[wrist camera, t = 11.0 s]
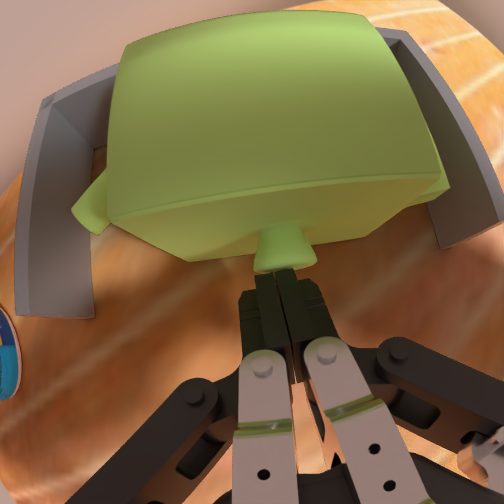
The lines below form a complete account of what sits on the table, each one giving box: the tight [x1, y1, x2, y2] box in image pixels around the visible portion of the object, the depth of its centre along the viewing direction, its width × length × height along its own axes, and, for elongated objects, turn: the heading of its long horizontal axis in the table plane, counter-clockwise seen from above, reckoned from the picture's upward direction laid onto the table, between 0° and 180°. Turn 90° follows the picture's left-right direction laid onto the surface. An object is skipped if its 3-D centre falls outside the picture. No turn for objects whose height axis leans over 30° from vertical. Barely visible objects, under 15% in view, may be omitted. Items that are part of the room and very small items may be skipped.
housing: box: [14, 27, 504, 319], centre depth 14 cm, size 24×14×7 cm, turn 100°
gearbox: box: [71, 10, 450, 274], centre depth 12 cm, size 18×10×10 cm, turn 97°
